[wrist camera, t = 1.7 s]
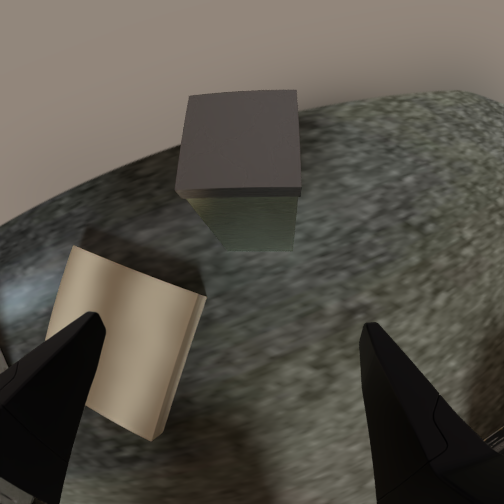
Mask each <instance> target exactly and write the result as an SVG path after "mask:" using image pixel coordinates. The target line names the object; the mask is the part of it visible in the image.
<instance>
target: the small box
mask: <svg viewBox="0 0 504 504" xmlns="http://www.w3.org/2000/svg"><path fill="white" fill-rule="evenodd" d="M6 369H8V366H7V363H6V361H5V359H4V356H3V354H2V351H1V349H0V374H1V373H2V372H4V371H5V370H6Z"/></svg>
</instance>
